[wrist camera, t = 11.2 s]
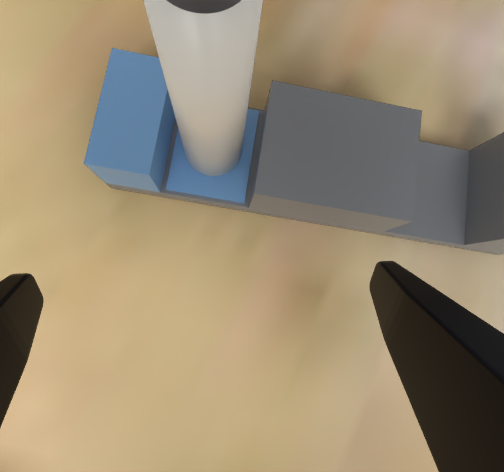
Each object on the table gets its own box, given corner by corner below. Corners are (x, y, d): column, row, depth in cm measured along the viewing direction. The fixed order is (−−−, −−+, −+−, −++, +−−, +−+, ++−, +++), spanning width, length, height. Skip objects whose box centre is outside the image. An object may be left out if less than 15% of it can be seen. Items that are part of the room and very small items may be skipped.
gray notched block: (497, 254, 21) (560, 248, 17) (111, 188, 19) (83, 163, 16) (501, 164, 22) (562, 139, 18) (132, 93, 20) (111, 48, 16)
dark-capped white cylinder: (222, 186, 19) (224, -30, 6) (174, 157, 19) (71, -121, 6) (252, 141, 19) (309, -146, 7) (204, 112, 19) (169, -228, 7)
